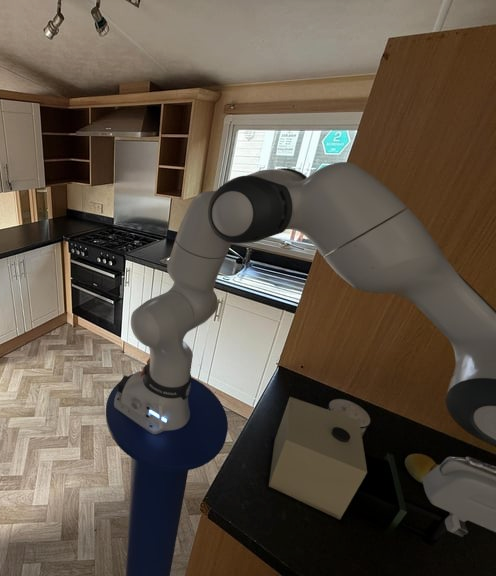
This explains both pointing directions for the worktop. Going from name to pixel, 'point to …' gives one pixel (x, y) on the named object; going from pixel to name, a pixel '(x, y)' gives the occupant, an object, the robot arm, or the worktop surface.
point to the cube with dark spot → (318, 457)
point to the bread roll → (419, 466)
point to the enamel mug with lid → (350, 412)
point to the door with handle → (391, 502)
